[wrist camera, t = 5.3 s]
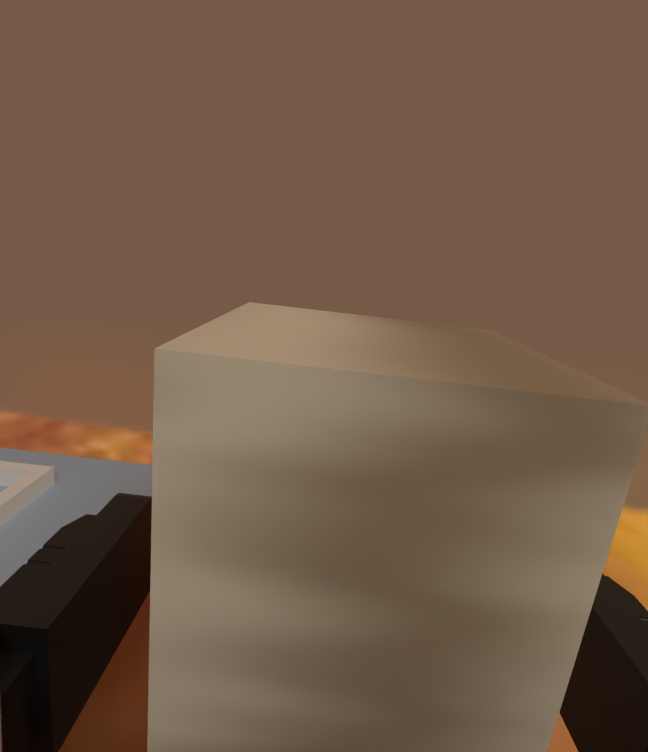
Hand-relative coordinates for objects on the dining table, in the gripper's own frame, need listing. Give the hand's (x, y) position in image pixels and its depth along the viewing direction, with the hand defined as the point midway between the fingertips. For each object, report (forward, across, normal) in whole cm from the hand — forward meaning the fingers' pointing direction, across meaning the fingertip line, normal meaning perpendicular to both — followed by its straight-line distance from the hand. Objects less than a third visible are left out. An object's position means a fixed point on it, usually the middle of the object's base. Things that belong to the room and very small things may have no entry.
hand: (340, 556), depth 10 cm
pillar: (-2, 0, +6) cm, 6 cm away
